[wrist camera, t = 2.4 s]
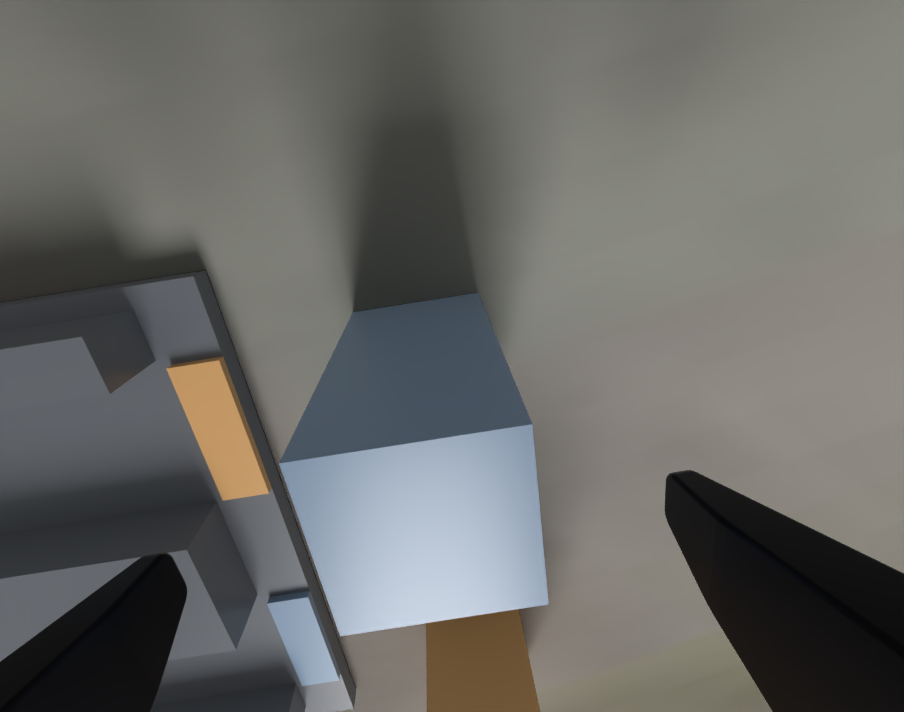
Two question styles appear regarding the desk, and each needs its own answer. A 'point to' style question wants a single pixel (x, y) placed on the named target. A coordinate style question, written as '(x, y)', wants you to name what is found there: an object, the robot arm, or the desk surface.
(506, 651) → the tan rectangular box
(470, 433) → the blue plug
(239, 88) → the desk surface
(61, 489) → the grey slotted base
